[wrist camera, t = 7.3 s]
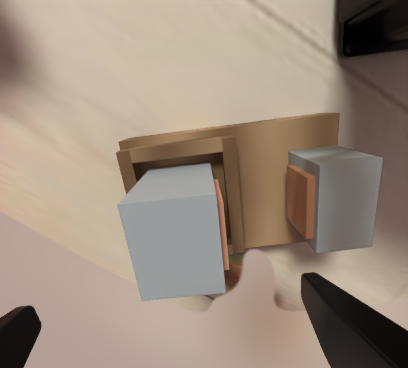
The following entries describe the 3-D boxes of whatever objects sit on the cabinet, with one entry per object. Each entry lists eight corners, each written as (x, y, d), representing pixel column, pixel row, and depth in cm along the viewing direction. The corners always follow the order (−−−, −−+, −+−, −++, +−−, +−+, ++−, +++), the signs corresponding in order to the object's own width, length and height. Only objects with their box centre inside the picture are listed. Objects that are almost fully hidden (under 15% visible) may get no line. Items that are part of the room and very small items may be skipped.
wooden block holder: (322, 112, 15) (393, 113, 10) (317, 225, 18) (370, 276, 13) (128, 138, 16) (87, 152, 10) (152, 244, 19) (131, 302, 13)
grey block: (214, 161, 14) (223, 193, 9) (220, 227, 16) (232, 292, 10) (149, 168, 14) (117, 204, 9) (162, 234, 16) (141, 300, 10)
